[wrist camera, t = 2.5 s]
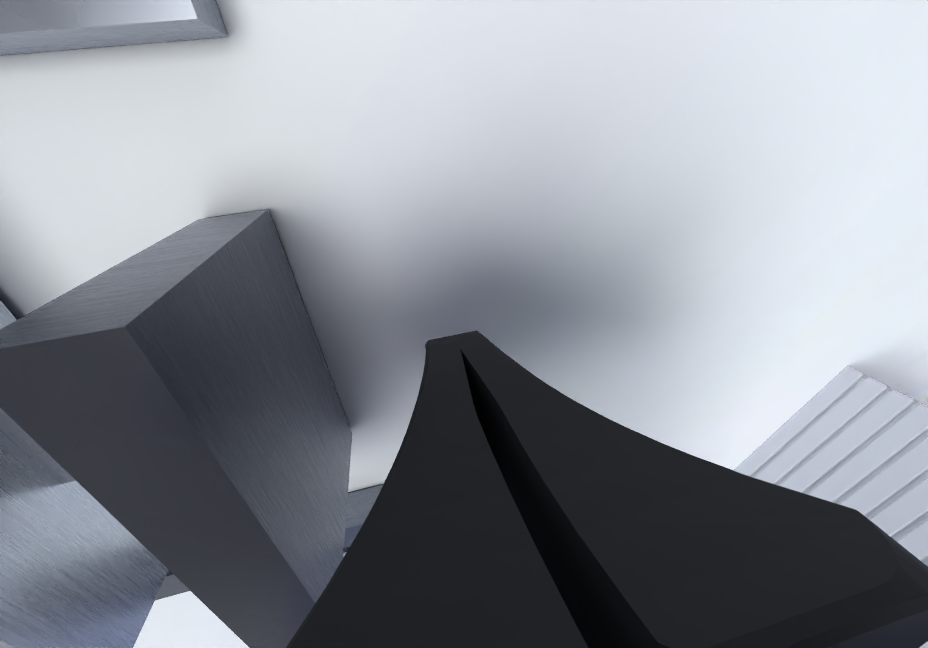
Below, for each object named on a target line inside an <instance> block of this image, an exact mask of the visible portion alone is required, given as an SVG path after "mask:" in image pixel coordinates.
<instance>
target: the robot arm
mask: <svg viewBox="0 0 928 648" xmlns="http://www.w3.org/2000/svg"><path fill="white" fill-rule="evenodd" d="M425 348H426V358H425V366H424V372H423V377H422V381H421V386H420V390H419V394H418V398H417V401H416V405H415V408H414V411H413V414H412V417H411V420H410V423H409V426H408V429H407V432H406V434H405V437H404V440H403V442H402V445H401V447H400V450H399V452H398V454H397V457H396V459H395V461H394V463H393V466H392V468H391V470H390V472H389V474H388V476H387V478H386V480H385V483H384V485H383V487H382V489H381V491H380V493H379V495H378V497H377V499H376V501H375V503H374V505H373V507H372V509H371V510H370V512H369V514H368V516H367V518H366V520H365V522H364V523H363V525H362V527H361V529H360V530H359V532H358V534H357V535H356V537H355V539H354V540H353V542H352V544H351V546H350V547H349V549H348V551H347V552H344V553H343V559H342V561H341V563H340V564H339V566H338V568H337V569H336V571H335V573H334V574H333V576H332V578H331V580H330V581H329V583H328V584H327V586H326V588H325V589H324V591H323V592H322V594H321V596H320V597H319V599H318V600H317V602H316V603H315V605H314V606H313V608H312V609H311V611H310V612H309V614H308V615H307V617H306V618H305V620H304V621H303V623H302V624H301V626H300V627H299V629H298V630H297V632H296V633H295V635H294V636H293V638H292V639H291V641H290V642H289V644H288V645H287V647H286V648H919V647H921V646H922V645H923V644H925V643H926V642H928V566H927V565H925V564H924V563H923V562H922V561H920V560H919V559H918V558H917V557H915V556H914V555H913V554H912V553H910V552H909V551H908V550H907V549H905V548H904V547H903V546H902V545H900V544H899V543H898V542H897V541H895V540H894V539H893V538H892V537H890V536H889V535H888V534H887V533H885V532H884V531H883V530H882V529H880V528H879V527H878V526H877V525H875V524H874V523H873V522H872V521H870V520H869V519H868V518H867V517H865V516H864V515H863V514H861V513H860V512H859V511H857V510H856V509H852V508H849V507H846V506H843V505H840V504H836V503H833V502H830V501H827V500H824V499H820V498H817V497H814V496H811V495H807V494H804V493H801V492H798V491H795V490H791V489H788V488H785V487H782V486H779V485H775V484H772V483H769V482H766V481H763V480H759V479H756V478H753V477H750V476H747V475H744V474H741V473H739V472H736V471H733V470H730V469H728V468H725V467H722V466H720V465H717V464H714V463H711V462H709V461H706V460H703V459H700V458H698V457H695V456H692V455H690V454H687V453H685V452H682V451H680V450H677V449H675V448H672V447H670V446H667V445H665V444H662V443H660V442H658V441H656V440H653V439H651V438H649V437H647V436H644V435H642V434H640V433H638V432H635V431H633V430H631V429H628V428H626V427H624V426H622V425H620V424H618V423H616V422H614V421H612V420H610V419H608V418H606V417H604V416H602V415H600V414H598V413H596V412H594V411H592V410H590V409H589V408H587V407H585V406H583V405H581V404H579V403H577V402H576V401H574V400H572V399H570V398H569V397H567V396H565V395H564V394H562V393H560V392H559V391H557V390H556V389H554V388H552V387H551V386H549V385H548V384H546V383H545V382H543V381H542V380H540V379H539V378H537V377H536V376H534V375H533V374H532V373H530V372H529V371H528V370H526V369H525V368H523V367H522V366H521V365H519V364H518V363H517V362H515V361H514V360H513V359H511V358H510V357H509V356H507V355H506V354H505V353H504V352H502V351H501V350H500V349H499V348H497V347H496V346H495V345H494V344H493V343H491V342H490V341H489V340H488V339H487V338H485V337H484V336H483V335H482V334H481V333H479V332H478V331H472V332H467V333H462V334H458V335H453V336H448V337H443V338H438V339H433V340H429V341H428V342H427V343H426V344H425Z"/></svg>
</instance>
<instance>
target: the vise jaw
mask: <svg viewBox="0 0 928 648" xmlns="http://www.w3.org/2000/svg"><path fill="white" fill-rule="evenodd" d="M351 441H352V432H351V429H350V427H349V424H348V421H347V419H346V416H345V413H344V411H343V408H342V405H341V403H340V400H339V397H338V394H337V392H336V389H335V386H334V384H333V381H332V378H331V376H330V373H329V370H328V368H327V365H326V362H325V360H324V357H323V354H322V352H321V349H320V346H319V344H318V341H317V338H316V336H315V333H314V330H313V328H312V325H311V322H310V320H309V317H308V314H307V312H306V309H305V306H304V304H303V301H302V298H301V295H300V293H299V290H298V287H297V285H296V282H295V279H294V277H293V274H292V271H291V269H290V266H289V263H288V261H287V258H286V255H285V253H284V250H283V247H282V245H281V242H280V239H279V237H278V234H277V231H276V229H275V226H274V223H273V221H272V218H271V215H270V213H269V210H268V209H266V210H260V211H253V212H246V213H239V214H232V215H225V216H218V217H211V218H204V219H199V220H197V221H195V222H193V223H192V224H190V225H188V226H186V227H184V228H183V229H181V230H179V231H177V232H175V233H174V234H172V235H170V236H168V237H166V238H165V239H163V240H161V241H159V242H157V243H156V244H154V245H152V246H150V247H148V248H146V249H145V250H143V251H141V252H139V253H137V254H136V255H134V256H132V257H130V258H128V259H127V260H125V261H123V262H121V263H119V264H118V265H116V266H114V267H112V268H110V269H109V270H107V271H105V272H103V273H101V274H99V275H98V276H96V277H94V278H92V279H90V280H89V281H87V282H85V283H83V284H81V285H80V286H78V287H76V288H74V289H72V290H71V291H69V292H67V293H65V294H63V295H62V296H60V297H58V298H56V299H54V300H52V301H51V302H49V303H47V304H45V305H43V306H42V307H40V308H38V309H36V310H34V311H33V312H31V313H29V314H27V315H25V316H24V317H22V318H20V319H18V320H17V319H16V318H15V317H14V316H13V314H12V313H11V312H10V311H9V310H8V309H7V307H6V306H5V305H4V304H3V303H2V302H1V300H0V648H133V646H134V644H135V642H136V640H137V638H138V635H139V633H140V631H141V629H142V627H143V624H144V622H145V620H146V618H147V616H148V614H149V611H150V609H151V607H152V605H153V603H154V601H155V598H156V596H157V594H158V592H159V590H160V587H161V585H162V583H163V581H164V579H165V577H166V574H167V572H168V570H169V571H171V572H172V573H173V574H174V575H175V576H176V577H177V578H178V579H179V580H180V581H181V582H182V583H183V584H184V585H185V586H186V587H187V588H188V589H189V590H190V591H191V592H192V593H193V594H194V595H195V596H197V597H198V598H199V599H200V600H201V601H202V602H203V603H204V604H205V605H206V606H207V607H208V608H209V609H210V610H211V611H212V612H213V613H214V614H215V615H216V616H217V617H218V618H219V619H220V620H221V621H223V622H224V623H225V624H226V625H227V626H228V627H229V628H230V629H231V630H232V631H233V632H234V633H235V634H236V635H237V636H238V637H239V638H240V639H241V640H242V641H243V642H244V643H245V644H246V645H247V646H249V647H250V648H286V647H287V645H288V644H289V642H290V641H291V639H292V638H293V636H294V635H295V633H296V632H297V630H298V629H299V627H300V626H301V624H302V623H303V621H304V620H305V618H306V617H307V615H308V614H309V612H310V611H311V609H312V608H313V606H314V605H315V603H316V602H317V600H318V599H319V597H320V596H321V594H322V592H323V591H324V589H325V588H326V586H327V584H328V583H329V581H330V580H331V578H332V576H333V574H334V573H335V571H336V569H337V568H338V566H339V564H340V563H341V561H342V559H343V553H344V539H345V525H346V511H347V497H348V483H349V469H350V455H351Z"/></svg>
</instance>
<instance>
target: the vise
mask: <svg viewBox="0 0 928 648" xmlns="http://www.w3.org/2000/svg"><path fill="white" fill-rule="evenodd" d="M220 37H228V34H227V32H226V29H225V26H224V23H223V20H222V17H221V14H220V11H219V8H218V6H217V3H216V0H0V55H11V54H23V53H35V52H48V51H60V50H72V49H85V48H97V47H109V46H121V45H134V44H146V43H158V42H171V41H183V40H195V39H208V38H220ZM382 487H383V485H379V486H375V487H371V488H367V489H363V490H359V491H355V492H351V493H348V497H347V511H346V525H345V539H344V548H347V547H350V546H351V544H352V542H353V540H354V539H355V537H356V535H357V534H358V532H359V530H360V529H361V527H362V525H363V523H364V522H365V520H366V518H367V516H368V514H369V512H370V510H371V509H372V507H373V505H374V503H375V501H376V499H377V497H378V495H379V493H380V491H381V489H382ZM187 591H190V590H189V589H188V588H187V587H186V586H185V585H184V584H183V583H182V582H181V581H180V580H179V579H178V578H177V577H176V576H175V575H174V574H173V573H172V572H171V571H169V570H168V572H167V574H166V577H165V579H164V581H163V583H162V585H161V587H160V590H159V592H158V594H157V596H156V598H155V600H158V599H161V598H165V597H169V596H172V595H176V594H180V593H183V592H187Z"/></svg>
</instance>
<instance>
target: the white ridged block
mask: <svg viewBox="0 0 928 648" xmlns="http://www.w3.org/2000/svg"><path fill="white" fill-rule="evenodd" d="M733 471H736V472H739V473H741V474H744V475H747V476H750V477H753V478H756V479H759V480H763V481H766V482H769V483H772V484H775V485H779V486H782V487H785V488H788V489H791V490H795V491H798V492H801V493H804V494H807V495H811V496H814V497H817V498H820V499H824V500H827V501H830V502H833V503H836V504H840V505H843V506H846V507H849V508H852V509H856V510H857V511H859V512H860V513H861V514H863V515H864V516H865V517H867V518H868V519H869V520H870V521H872V522H873V523H874V524H875V525H877V526H878V527H879V528H880V529H882V530H883V531H884V532H885V533H887V534H888V535H889V536H890V537H892V538H893V539H894V540H895V541H897V542H898V543H899V544H900V545H902V546H903V547H904V548H905V549H907V550H908V551H909V552H910V553H912V554H913V555H914V556H915V557H917V558H918V559H919V560H920V561H922V562H923V563H924V564H925V565H927V566H928V407H927V406H925V405H923V404H922V403H921V404H919V403H918V402H916V401H915V400H914V399H912V398H910V397H908V396H906V395H904V394H902V393H900V392H898V391H896V390H894V389H893V390H892V389H891V388H889V387H888V386H886V385H885V384H883V383H881V382H879V381H877V380H875V379H873V378H871V377H867V376H866V375H865V374H863V373H861V372H859V371H857V370H855V369H853V368H851V367H849V366H846V367H845V368H844V369H843V370H842V371H841V372H840V373H839V374H838V375H837V376H836V377H835V378H833V379H832V380H831V381H830V382H829V383H828V384H827V385H826V386H825V387H824V388H823V389H821V390H820V391H819V392H818V393H817V394H816V395H815V396H814V397H813V398H812V399H811V400H810V401H808V402H807V403H806V404H805V405H804V406H803V407H802V408H801V409H800V410H799V411H798V412H796V413H795V414H794V415H793V416H792V417H791V418H790V419H789V420H788V421H787V422H786V423H784V424H783V425H782V426H781V427H780V428H779V429H778V430H777V431H776V432H775V433H774V434H773V435H771V436H770V437H769V438H768V439H767V440H766V441H765V442H764V443H763V444H762V445H761V446H759V447H758V448H757V449H756V450H755V451H754V452H753V453H752V454H751V455H750V456H749V457H747V458H746V459H745V460H744V461H743V462H742V463H741V464H740V465H739V466H738V467H737V468H736V469H734V470H733ZM919 648H928V642H926V643H925V644H923V645H922V646H921V647H919Z"/></svg>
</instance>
